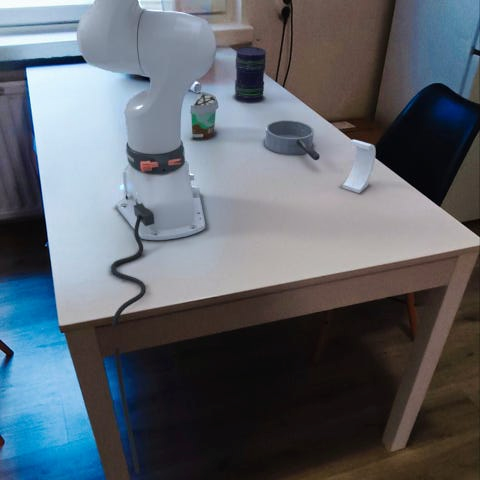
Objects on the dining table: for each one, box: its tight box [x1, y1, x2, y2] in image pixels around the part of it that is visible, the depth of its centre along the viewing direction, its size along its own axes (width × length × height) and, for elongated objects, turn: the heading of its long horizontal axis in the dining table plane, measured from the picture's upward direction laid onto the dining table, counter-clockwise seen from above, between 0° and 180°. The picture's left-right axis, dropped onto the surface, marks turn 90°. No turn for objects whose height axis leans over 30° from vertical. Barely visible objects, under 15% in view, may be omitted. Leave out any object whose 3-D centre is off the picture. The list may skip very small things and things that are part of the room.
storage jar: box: [234, 38, 267, 104], centre depth 162 cm, size 10×10×18 cm
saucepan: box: [264, 119, 315, 156], centre depth 138 cm, size 13×13×4 cm
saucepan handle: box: [297, 138, 321, 161], centre depth 129 cm, size 12×2×2 cm, turn 20°
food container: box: [189, 91, 219, 141], centre depth 139 cm, size 12×6×10 cm, turn 168°
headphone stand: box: [341, 139, 376, 194], centre depth 118 cm, size 5×6×12 cm
